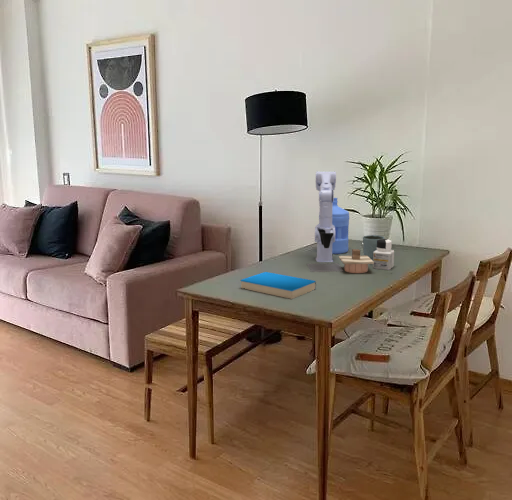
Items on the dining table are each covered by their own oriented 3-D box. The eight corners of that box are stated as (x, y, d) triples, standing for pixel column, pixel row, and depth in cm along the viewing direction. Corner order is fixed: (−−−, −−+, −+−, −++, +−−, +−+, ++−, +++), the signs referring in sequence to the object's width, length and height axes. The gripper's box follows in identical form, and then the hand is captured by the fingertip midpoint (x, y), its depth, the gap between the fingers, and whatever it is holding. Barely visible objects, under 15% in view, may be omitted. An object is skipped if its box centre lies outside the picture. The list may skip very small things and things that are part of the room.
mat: (306, 265, 250) (306, 263, 250) (338, 264, 250) (338, 263, 250) (310, 272, 235) (310, 271, 235) (344, 272, 235) (344, 271, 235)
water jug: (313, 249, 285) (314, 197, 279) (340, 247, 289) (341, 196, 284) (325, 255, 270) (327, 200, 265) (353, 253, 275) (355, 199, 269)
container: (372, 268, 242) (373, 240, 240) (377, 264, 249) (378, 237, 246) (389, 270, 239) (390, 241, 236) (393, 266, 245) (394, 238, 243)
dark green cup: (382, 259, 260) (383, 235, 258) (384, 264, 250) (386, 239, 248) (361, 259, 261) (361, 235, 259) (363, 263, 251) (363, 238, 249)
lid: (338, 257, 242) (338, 247, 241) (367, 257, 242) (367, 246, 241) (343, 264, 229) (344, 253, 228) (373, 263, 230) (374, 252, 229)
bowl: (342, 268, 242) (343, 258, 241) (364, 268, 242) (365, 257, 241) (346, 274, 232) (347, 263, 231) (369, 274, 232) (370, 263, 231)
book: (292, 290, 196) (240, 279, 211) (292, 301, 197) (240, 289, 212) (316, 280, 209) (265, 270, 224) (316, 290, 210) (265, 280, 225)
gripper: (314, 214, 245) (314, 243, 247) (319, 218, 230) (318, 249, 233) (330, 214, 245) (329, 243, 247) (335, 218, 230) (334, 249, 233)
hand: (325, 246), depth 240 cm, fingers open, 7 cm apart
